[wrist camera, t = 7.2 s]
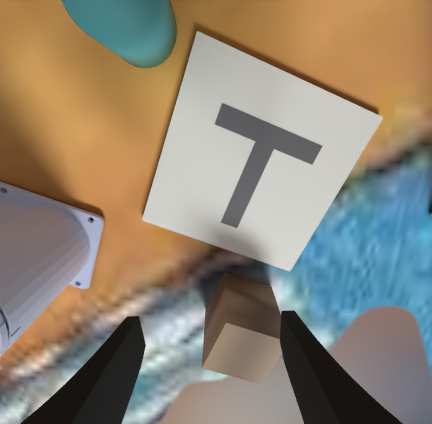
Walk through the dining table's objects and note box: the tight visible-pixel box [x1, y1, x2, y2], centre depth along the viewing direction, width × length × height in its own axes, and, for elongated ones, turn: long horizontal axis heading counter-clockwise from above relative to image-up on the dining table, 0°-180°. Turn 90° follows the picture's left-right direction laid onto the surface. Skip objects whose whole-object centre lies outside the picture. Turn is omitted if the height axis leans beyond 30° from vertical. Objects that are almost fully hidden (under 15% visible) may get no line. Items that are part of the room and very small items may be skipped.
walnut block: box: [202, 272, 282, 384], centre depth 20 cm, size 5×5×6 cm
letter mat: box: [142, 31, 383, 271], centre depth 18 cm, size 14×14×1 cm
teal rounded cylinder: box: [62, 0, 177, 68], centre depth 12 cm, size 4×4×5 cm
